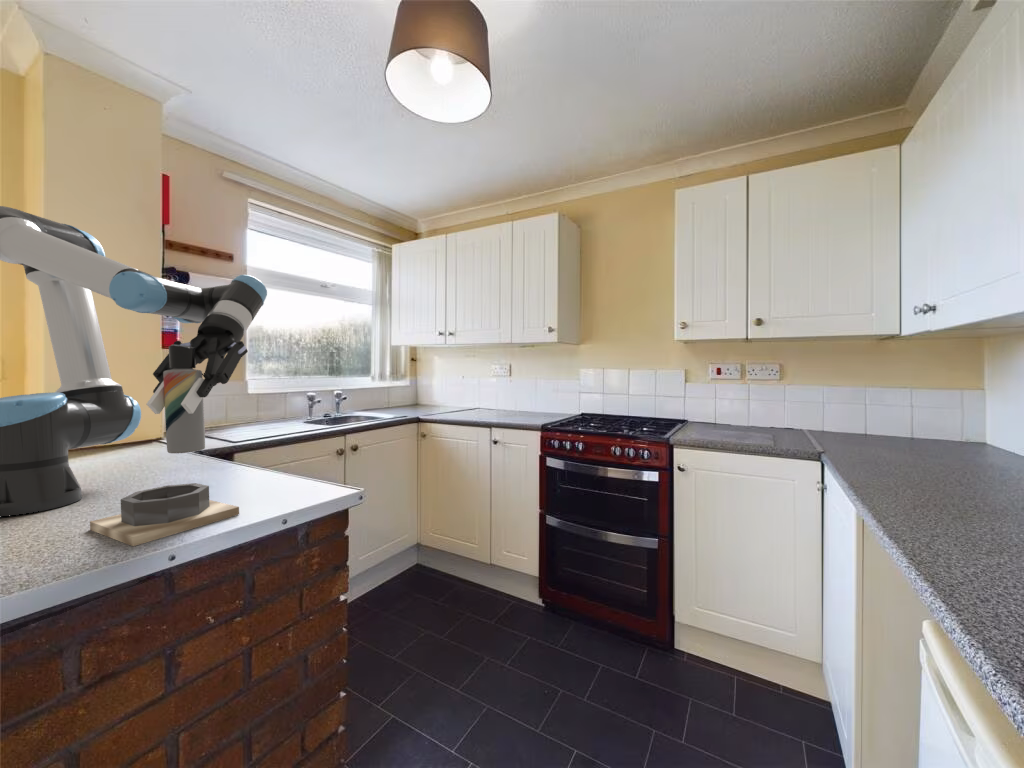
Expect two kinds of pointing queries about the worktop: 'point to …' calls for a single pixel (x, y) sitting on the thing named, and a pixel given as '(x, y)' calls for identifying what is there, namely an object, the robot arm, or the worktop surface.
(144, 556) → the worktop surface
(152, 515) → the holder
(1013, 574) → the worktop surface
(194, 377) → the lotion bottle
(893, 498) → the worktop surface
